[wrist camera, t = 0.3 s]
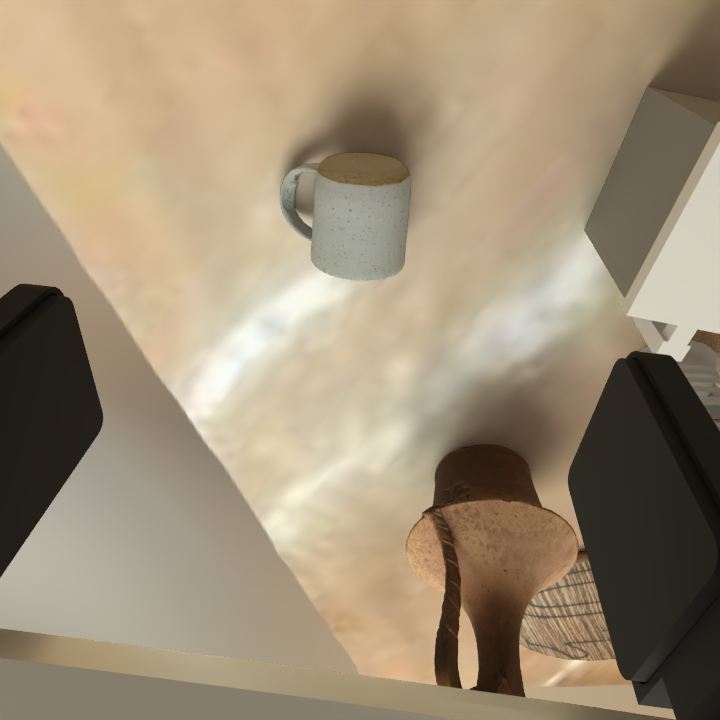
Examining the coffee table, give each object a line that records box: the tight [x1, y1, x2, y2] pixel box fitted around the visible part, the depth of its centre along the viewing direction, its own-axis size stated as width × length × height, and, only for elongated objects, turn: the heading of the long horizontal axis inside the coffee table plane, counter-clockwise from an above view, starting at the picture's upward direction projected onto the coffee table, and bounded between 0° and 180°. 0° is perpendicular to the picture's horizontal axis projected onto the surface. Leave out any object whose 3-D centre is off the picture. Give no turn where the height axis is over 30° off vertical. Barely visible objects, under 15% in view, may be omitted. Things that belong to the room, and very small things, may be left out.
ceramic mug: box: [280, 153, 411, 281], centre depth 43 cm, size 11×8×8 cm
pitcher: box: [406, 445, 578, 697], centre depth 53 cm, size 18×17×28 cm
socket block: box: [584, 87, 720, 362], centre depth 39 cm, size 16×12×13 cm
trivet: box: [519, 551, 616, 661], centre depth 76 cm, size 25×25×2 cm
